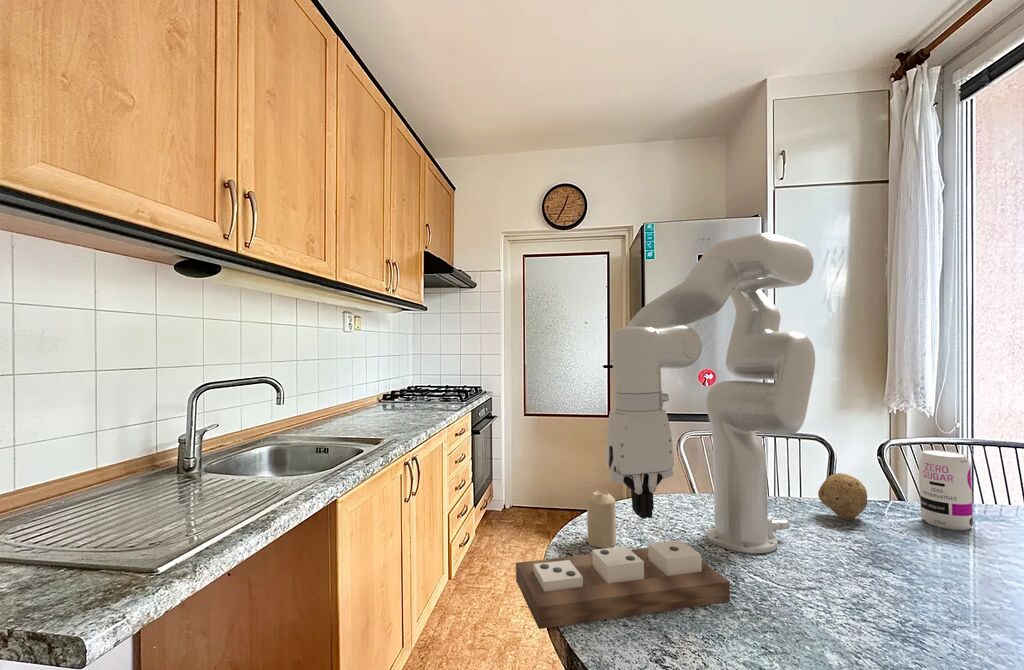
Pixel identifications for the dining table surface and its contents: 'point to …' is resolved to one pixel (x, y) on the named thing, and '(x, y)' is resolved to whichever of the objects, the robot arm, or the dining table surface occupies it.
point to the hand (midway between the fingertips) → (643, 515)
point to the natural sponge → (843, 495)
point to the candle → (601, 520)
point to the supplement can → (946, 489)
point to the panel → (617, 592)
